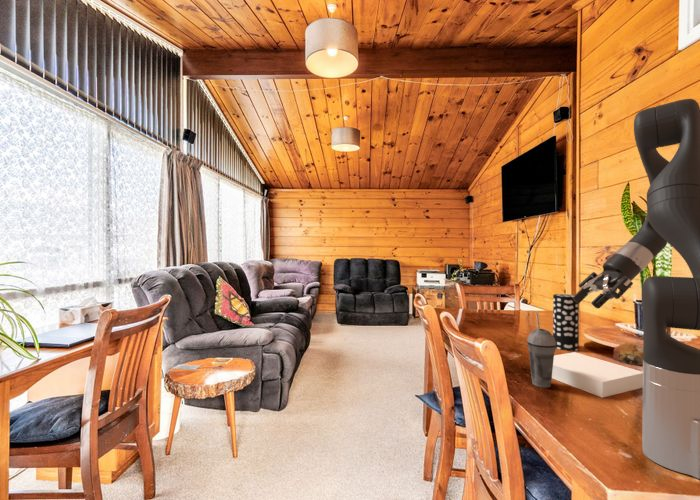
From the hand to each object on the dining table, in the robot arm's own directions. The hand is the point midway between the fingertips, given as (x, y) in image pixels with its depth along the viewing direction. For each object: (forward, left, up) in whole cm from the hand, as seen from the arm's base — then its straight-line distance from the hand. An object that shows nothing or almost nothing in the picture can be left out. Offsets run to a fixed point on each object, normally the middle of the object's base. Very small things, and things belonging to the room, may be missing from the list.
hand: (584, 303), depth 97 cm
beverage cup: (+5, +11, -23) cm, 26 cm away
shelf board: (+3, -5, -23) cm, 24 cm away
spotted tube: (+27, -29, -23) cm, 46 cm away
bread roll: (+8, -35, -23) cm, 43 cm away
